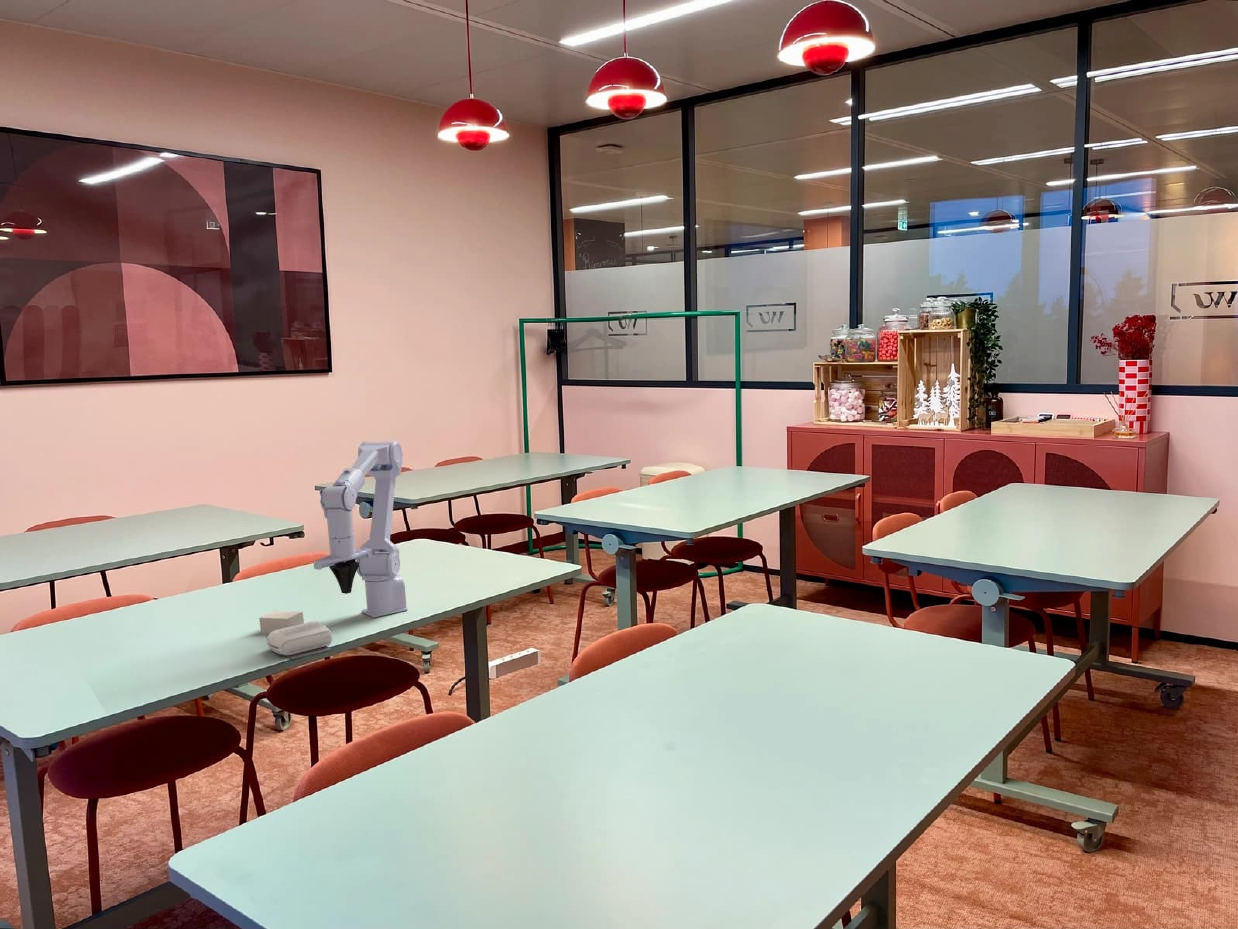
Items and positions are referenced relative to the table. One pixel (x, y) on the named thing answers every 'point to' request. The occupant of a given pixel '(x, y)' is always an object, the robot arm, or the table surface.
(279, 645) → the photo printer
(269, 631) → the card box
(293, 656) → the mat
